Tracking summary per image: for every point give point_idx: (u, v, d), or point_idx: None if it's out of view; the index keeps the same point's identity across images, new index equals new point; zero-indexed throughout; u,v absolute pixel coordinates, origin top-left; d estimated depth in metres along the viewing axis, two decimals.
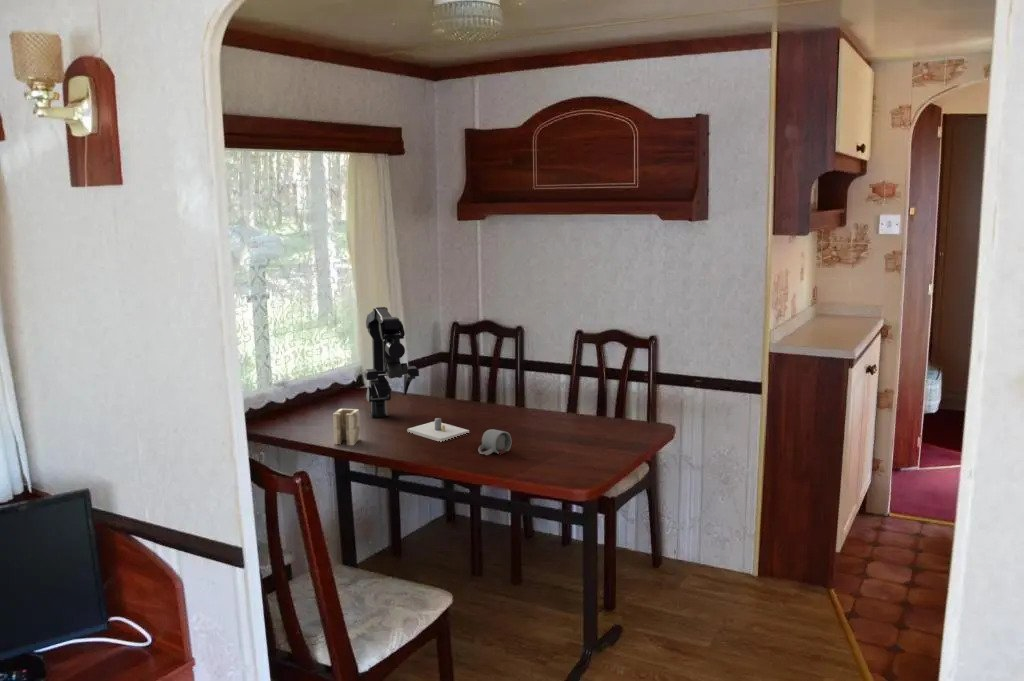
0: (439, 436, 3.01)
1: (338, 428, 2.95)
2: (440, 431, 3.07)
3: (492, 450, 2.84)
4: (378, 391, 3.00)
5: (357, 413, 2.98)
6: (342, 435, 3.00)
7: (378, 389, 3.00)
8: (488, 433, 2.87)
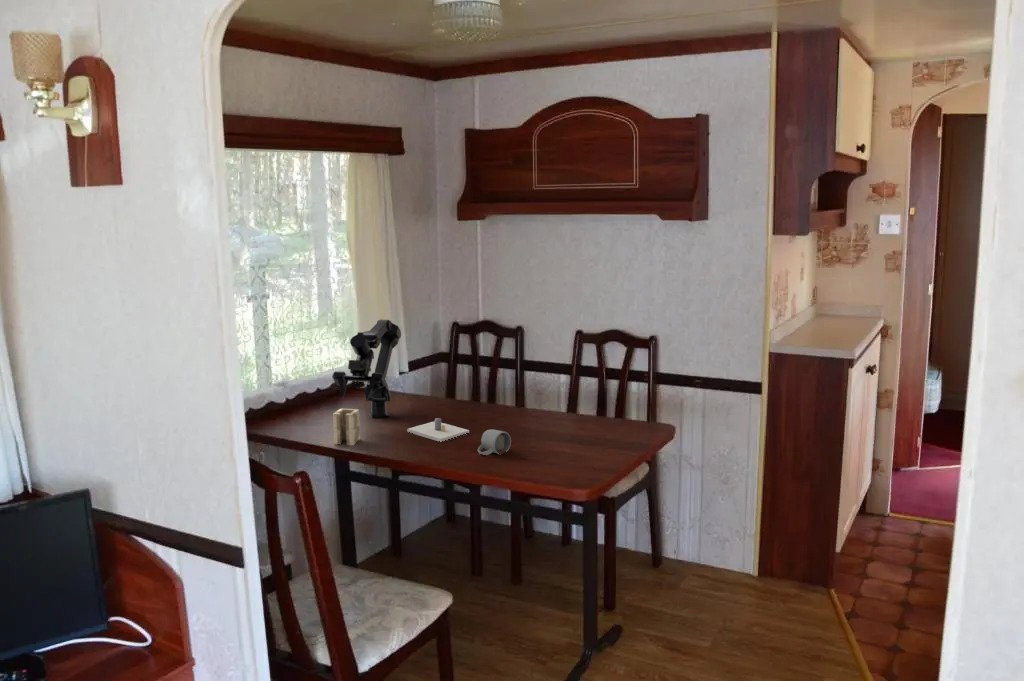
0: (439, 436, 3.01)
1: (338, 428, 2.95)
2: (440, 431, 3.07)
3: (492, 450, 2.84)
4: (341, 391, 3.05)
5: (357, 413, 2.98)
6: (342, 435, 3.00)
7: (341, 389, 3.06)
8: (488, 434, 2.87)
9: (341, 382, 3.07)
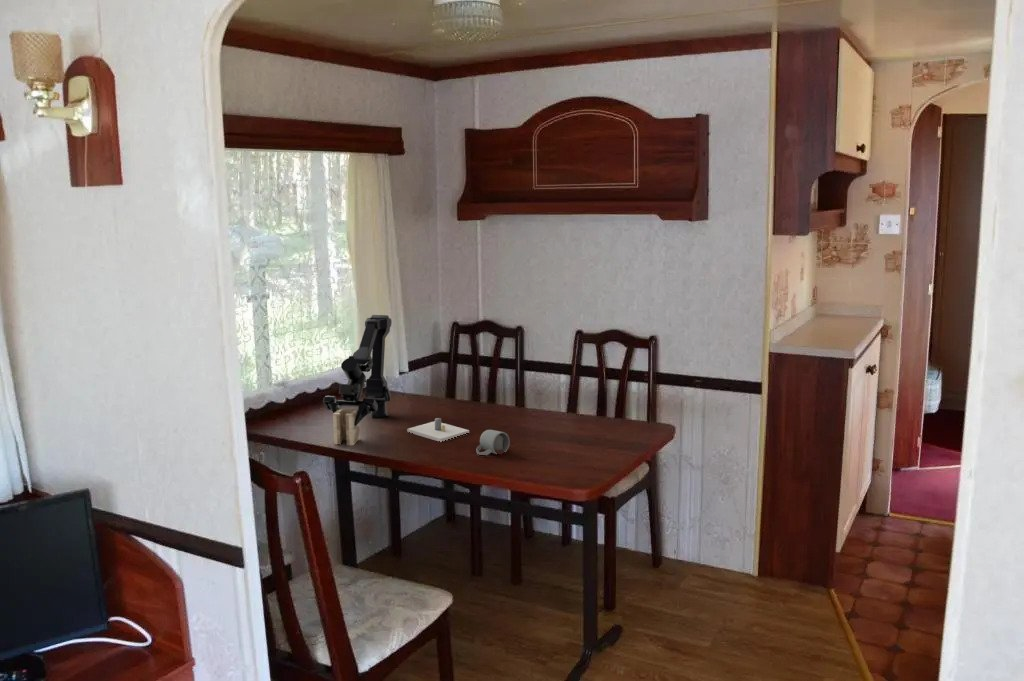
0: (439, 436, 3.01)
1: (338, 428, 2.95)
2: (440, 431, 3.07)
3: (490, 450, 2.83)
4: None
5: None
6: (342, 435, 3.00)
7: None
8: (486, 434, 2.86)
9: (334, 407, 2.99)
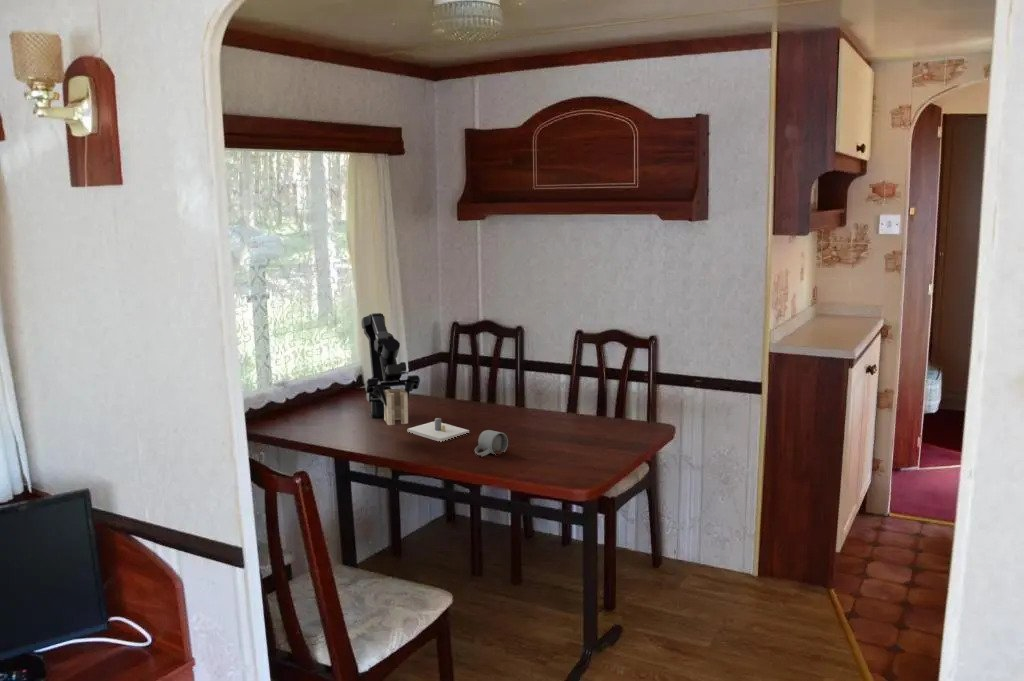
0: (439, 436, 3.01)
1: (393, 408, 2.94)
2: (440, 431, 3.07)
3: (489, 451, 2.83)
4: (384, 397, 2.96)
5: None
6: None
7: (383, 395, 2.96)
8: (485, 434, 2.86)
9: (381, 389, 2.97)
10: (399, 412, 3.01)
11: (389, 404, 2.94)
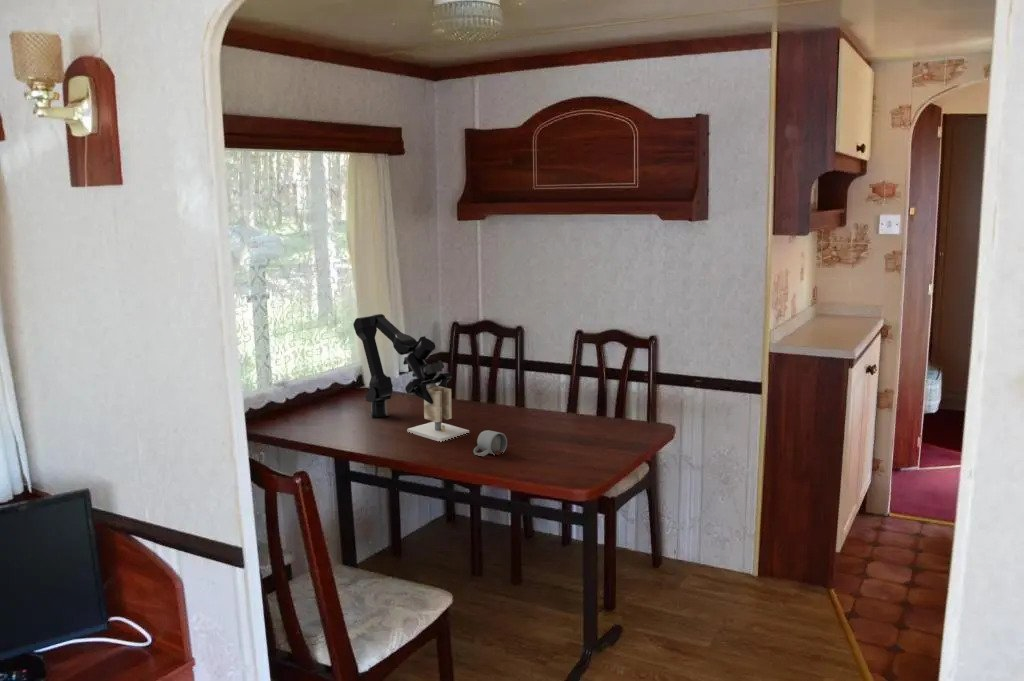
0: (439, 436, 3.01)
1: (441, 405, 3.04)
2: (440, 431, 3.07)
3: (488, 451, 2.82)
4: (429, 396, 3.04)
5: None
6: None
7: (428, 394, 3.04)
8: (484, 435, 2.86)
9: (425, 388, 3.04)
10: None
11: (438, 402, 3.03)
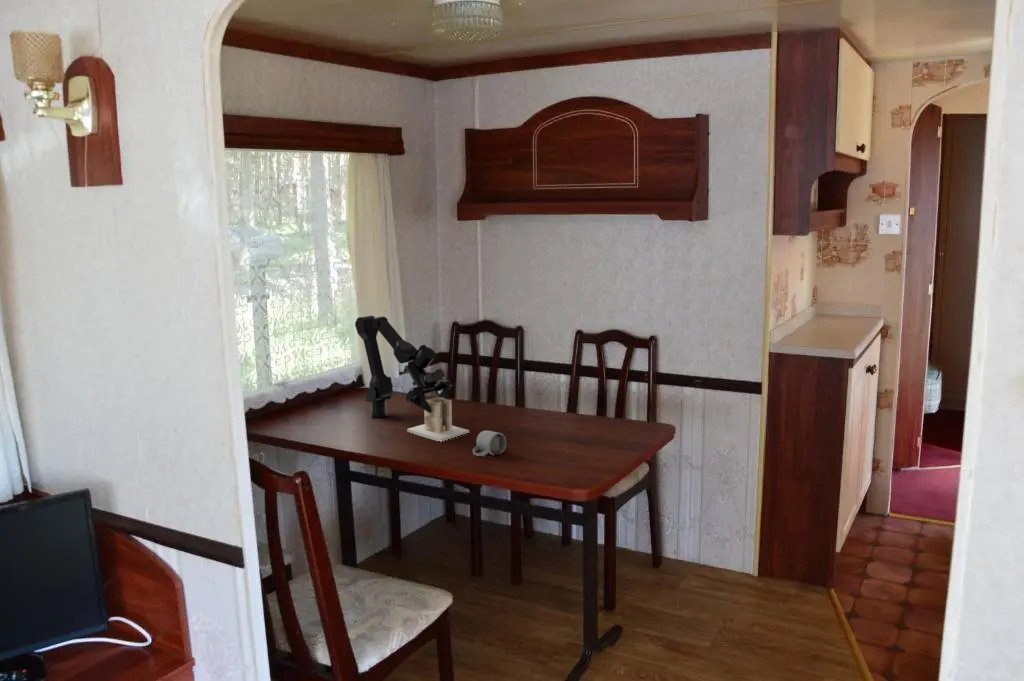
0: (439, 436, 3.01)
1: (441, 416, 3.05)
2: None
3: (487, 451, 2.82)
4: (427, 405, 3.04)
5: None
6: None
7: (427, 403, 3.04)
8: (483, 435, 2.85)
9: (423, 397, 3.04)
10: None
11: (438, 413, 3.04)
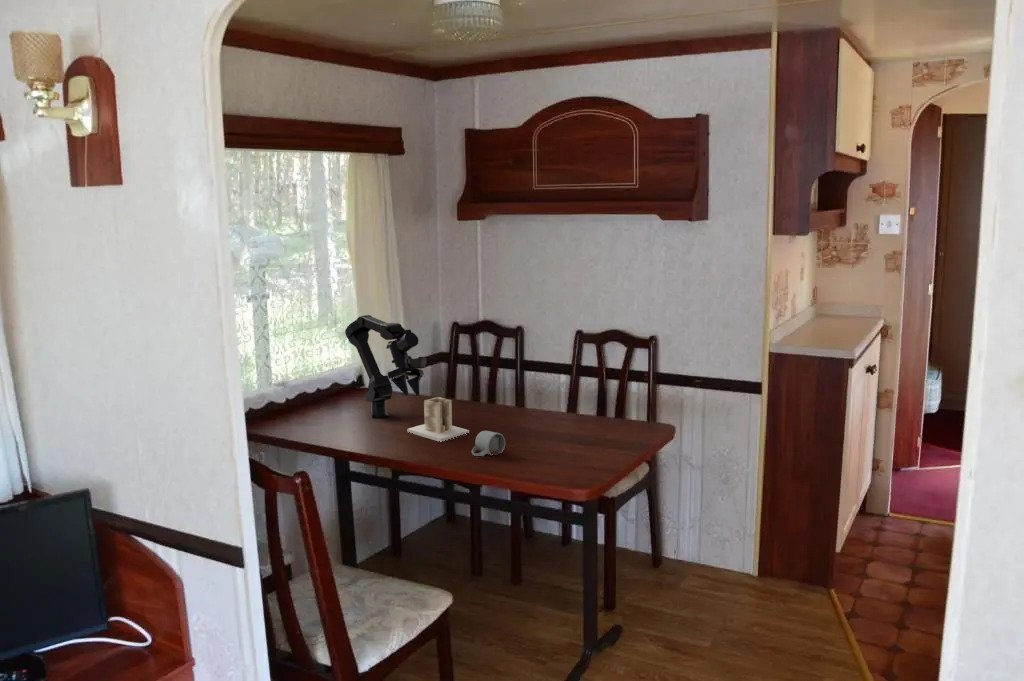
0: (439, 436, 3.01)
1: (441, 416, 3.05)
2: None
3: (486, 452, 2.82)
4: (406, 387, 3.09)
5: None
6: None
7: (406, 385, 3.09)
8: (482, 435, 2.85)
9: (405, 378, 3.09)
10: None
11: (438, 413, 3.04)
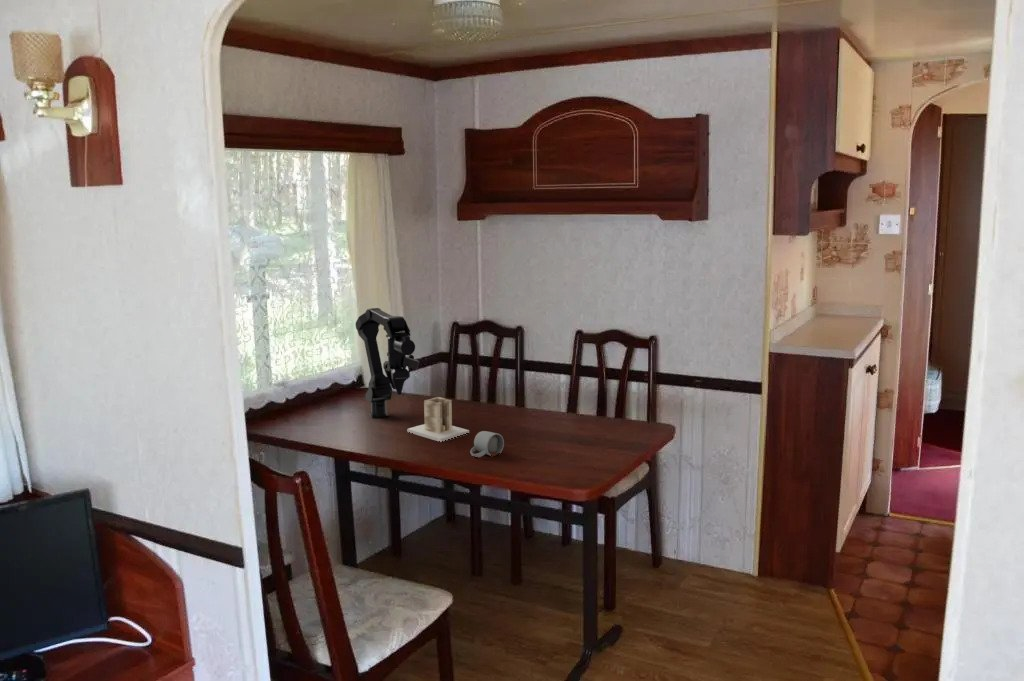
0: (439, 436, 3.01)
1: (441, 416, 3.05)
2: None
3: (485, 452, 2.82)
4: None
5: None
6: None
7: None
8: (481, 435, 2.85)
9: None
10: None
11: (438, 413, 3.04)
